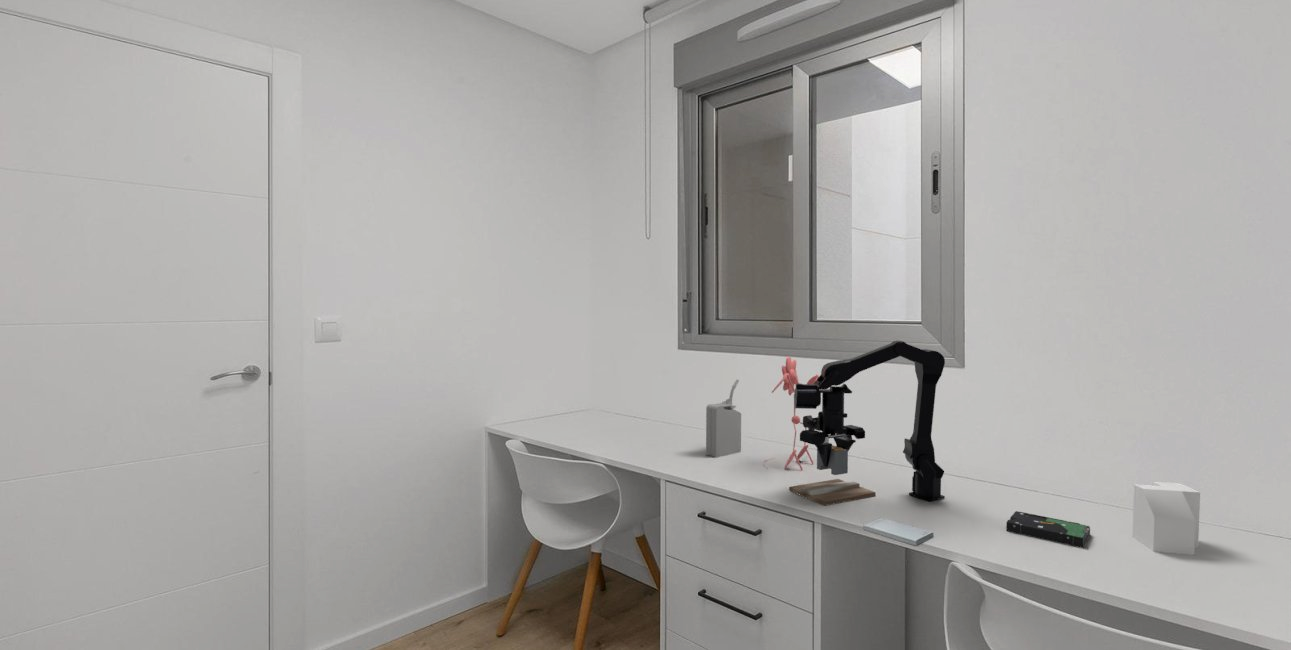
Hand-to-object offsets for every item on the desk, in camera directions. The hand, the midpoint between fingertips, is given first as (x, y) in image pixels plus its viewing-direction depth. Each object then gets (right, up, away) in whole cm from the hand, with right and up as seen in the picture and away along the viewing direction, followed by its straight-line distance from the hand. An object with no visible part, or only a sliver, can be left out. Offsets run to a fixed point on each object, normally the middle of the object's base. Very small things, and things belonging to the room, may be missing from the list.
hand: (832, 465), depth 167 cm
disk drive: (+40, -10, -28) cm, 50 cm away
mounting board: (0, -8, 0) cm, 8 cm away
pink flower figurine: (-5, -7, +31) cm, 32 cm away
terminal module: (0, -2, 0) cm, 2 cm away
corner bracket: (+62, -9, -34) cm, 72 cm away
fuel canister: (-23, -6, +45) cm, 51 cm away
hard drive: (+6, -10, -28) cm, 31 cm away
